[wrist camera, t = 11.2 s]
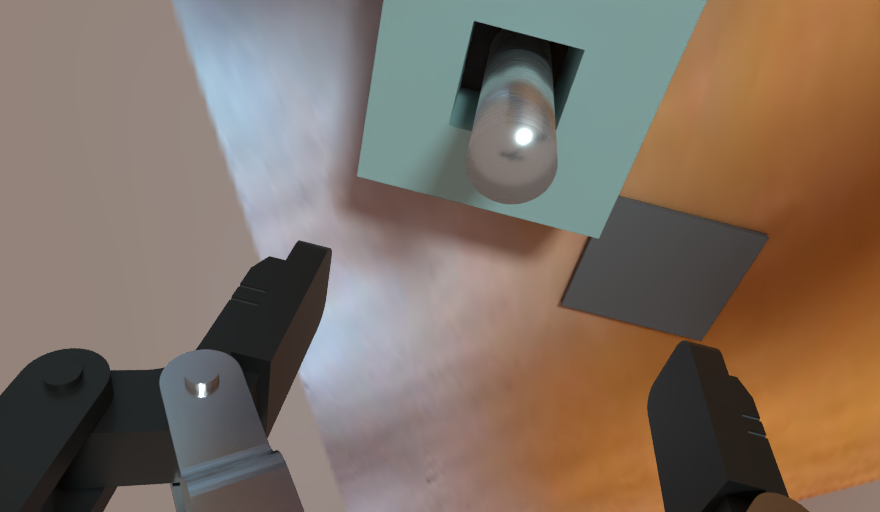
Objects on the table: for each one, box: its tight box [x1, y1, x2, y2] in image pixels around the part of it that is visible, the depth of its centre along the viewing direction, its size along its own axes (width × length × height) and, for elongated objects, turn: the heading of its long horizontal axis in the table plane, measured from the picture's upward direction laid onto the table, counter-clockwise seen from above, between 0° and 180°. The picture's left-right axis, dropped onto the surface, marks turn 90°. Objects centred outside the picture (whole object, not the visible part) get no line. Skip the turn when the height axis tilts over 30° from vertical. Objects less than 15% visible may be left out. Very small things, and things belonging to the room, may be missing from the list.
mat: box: [561, 196, 769, 341], centre depth 36 cm, size 9×8×1 cm
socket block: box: [357, 0, 707, 239], centre depth 28 cm, size 12×12×5 cm
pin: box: [466, 29, 558, 204], centre depth 25 cm, size 3×3×12 cm
